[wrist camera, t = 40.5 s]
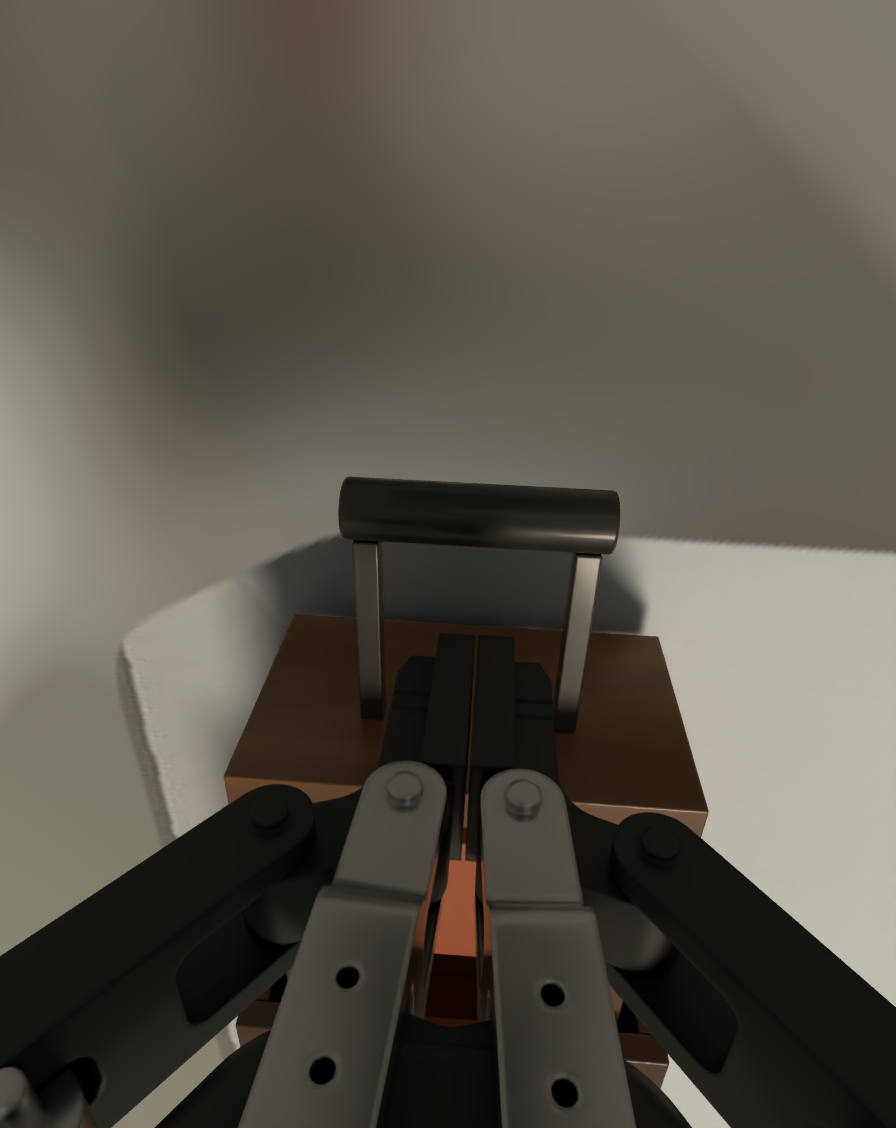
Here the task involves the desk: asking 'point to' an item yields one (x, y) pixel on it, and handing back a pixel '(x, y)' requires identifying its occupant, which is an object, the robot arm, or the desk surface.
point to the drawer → (381, 647)
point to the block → (458, 909)
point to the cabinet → (631, 1031)
